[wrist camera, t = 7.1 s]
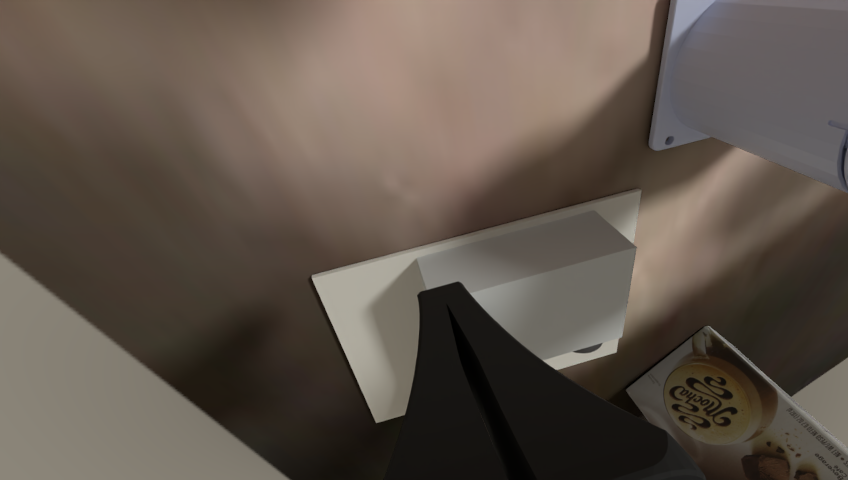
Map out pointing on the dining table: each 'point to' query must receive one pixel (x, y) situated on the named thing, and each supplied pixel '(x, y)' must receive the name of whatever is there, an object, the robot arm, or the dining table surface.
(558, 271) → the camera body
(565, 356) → the mat
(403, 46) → the dining table surface
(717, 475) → the coffee box
